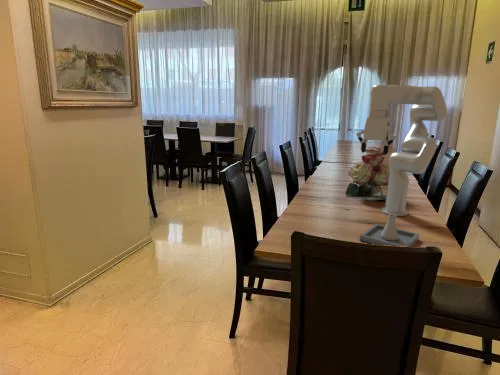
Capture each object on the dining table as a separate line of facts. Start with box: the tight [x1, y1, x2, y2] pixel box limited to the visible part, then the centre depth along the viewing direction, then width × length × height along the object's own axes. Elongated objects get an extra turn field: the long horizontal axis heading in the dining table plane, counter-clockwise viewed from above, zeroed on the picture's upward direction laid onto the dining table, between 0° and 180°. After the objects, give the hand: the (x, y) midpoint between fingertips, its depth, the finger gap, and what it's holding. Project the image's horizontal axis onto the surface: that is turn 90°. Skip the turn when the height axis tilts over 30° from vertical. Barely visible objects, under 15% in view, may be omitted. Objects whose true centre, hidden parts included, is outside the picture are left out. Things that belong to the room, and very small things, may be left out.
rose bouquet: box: [345, 146, 389, 202], centre depth 201 cm, size 26×29×30 cm
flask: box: [381, 214, 399, 241], centre depth 138 cm, size 7×7×10 cm
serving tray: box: [359, 223, 420, 248], centre depth 139 cm, size 18×18×2 cm
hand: (374, 153), depth 151 cm, fingers open, 9 cm apart
